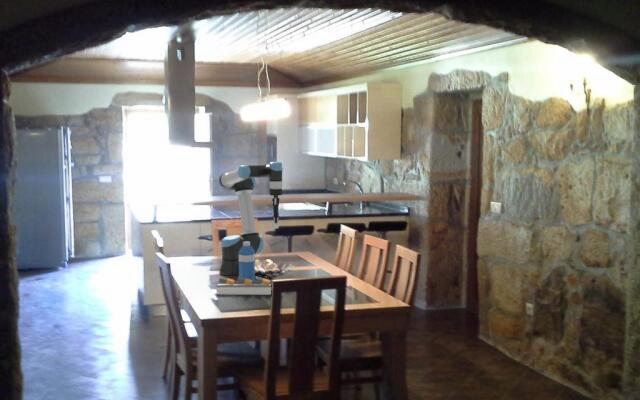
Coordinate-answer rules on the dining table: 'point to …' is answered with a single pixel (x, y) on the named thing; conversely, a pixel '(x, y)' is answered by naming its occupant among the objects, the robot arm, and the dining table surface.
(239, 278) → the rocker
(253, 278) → the water bottle
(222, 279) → the rocker
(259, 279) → the rocker
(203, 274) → the dining table surface
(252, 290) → the power strip
